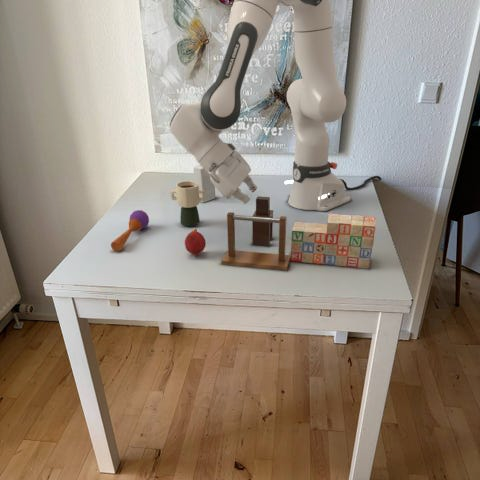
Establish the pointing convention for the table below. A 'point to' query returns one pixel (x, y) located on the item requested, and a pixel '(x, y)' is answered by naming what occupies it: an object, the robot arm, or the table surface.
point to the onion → (195, 242)
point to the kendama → (131, 228)
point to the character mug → (188, 201)
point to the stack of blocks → (335, 241)
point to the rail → (256, 258)
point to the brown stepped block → (262, 223)
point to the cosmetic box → (204, 183)
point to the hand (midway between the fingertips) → (251, 195)
